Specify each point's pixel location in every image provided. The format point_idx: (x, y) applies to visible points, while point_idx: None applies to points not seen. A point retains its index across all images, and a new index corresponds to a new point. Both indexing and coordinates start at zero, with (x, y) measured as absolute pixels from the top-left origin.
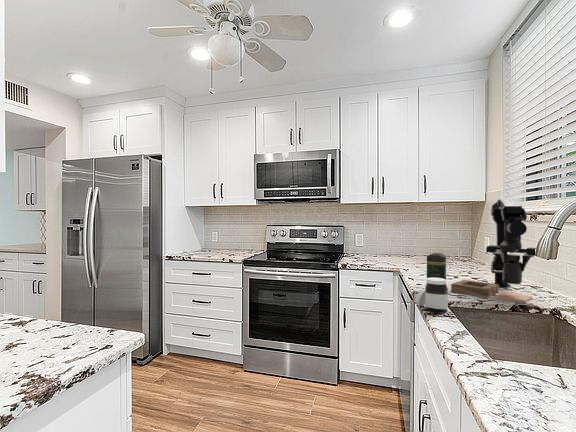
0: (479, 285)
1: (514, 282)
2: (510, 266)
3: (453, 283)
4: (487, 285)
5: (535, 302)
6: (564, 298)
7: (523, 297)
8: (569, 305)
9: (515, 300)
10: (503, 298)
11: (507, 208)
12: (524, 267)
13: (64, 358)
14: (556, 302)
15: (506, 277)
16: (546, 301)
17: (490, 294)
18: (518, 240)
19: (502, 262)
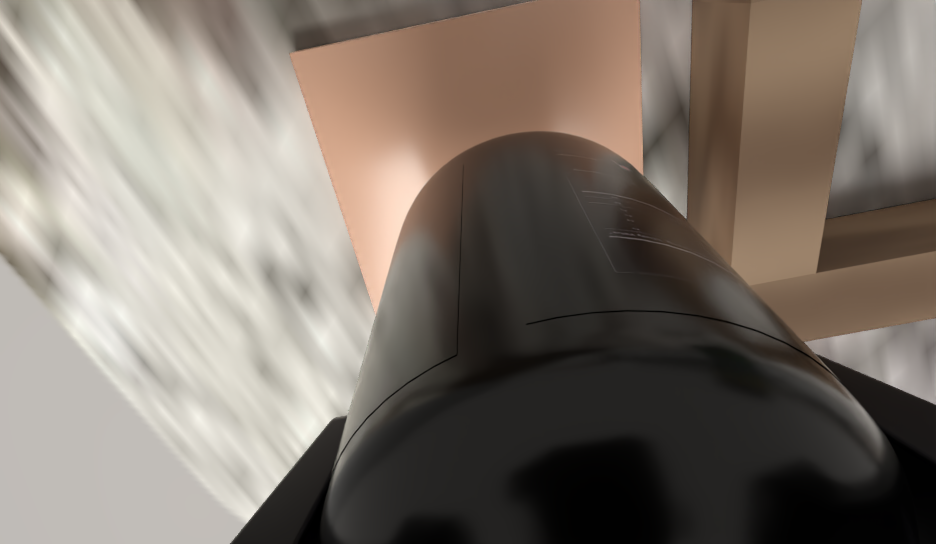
0: (906, 237)
1: (442, 167)
2: (557, 294)
3: None
4: (819, 186)
5: (261, 171)
6: (260, 495)
7: (393, 206)
8: (70, 317)
9: (394, 31)
10: (525, 3)
11: None
12: (277, 514)
13: None
14: (188, 334)
15: (585, 156)
16: (247, 301)
17: (700, 31)
18: None
19: (933, 476)
